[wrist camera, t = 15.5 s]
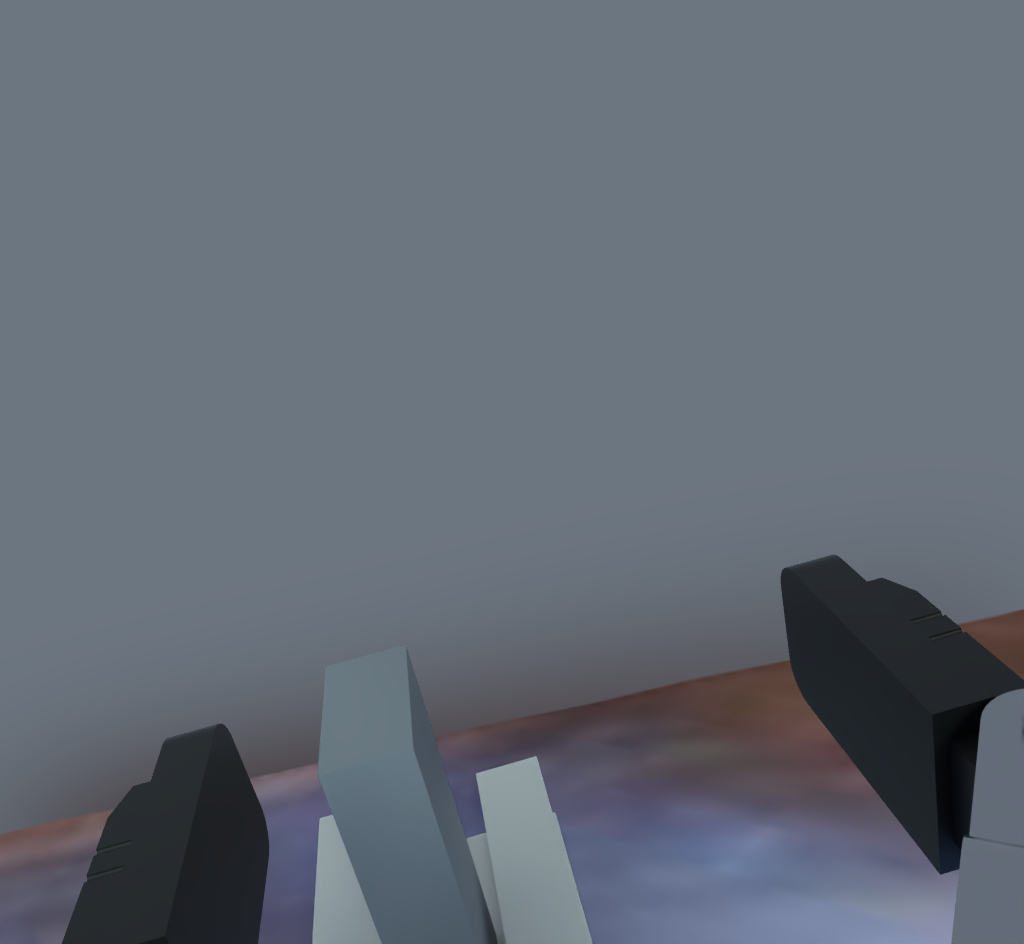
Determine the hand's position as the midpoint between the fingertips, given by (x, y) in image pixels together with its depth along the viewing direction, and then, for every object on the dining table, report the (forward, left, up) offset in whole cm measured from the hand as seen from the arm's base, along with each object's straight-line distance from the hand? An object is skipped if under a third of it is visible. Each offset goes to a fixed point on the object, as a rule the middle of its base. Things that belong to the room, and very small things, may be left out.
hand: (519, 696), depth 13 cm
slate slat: (+5, -16, -25) cm, 30 cm away
